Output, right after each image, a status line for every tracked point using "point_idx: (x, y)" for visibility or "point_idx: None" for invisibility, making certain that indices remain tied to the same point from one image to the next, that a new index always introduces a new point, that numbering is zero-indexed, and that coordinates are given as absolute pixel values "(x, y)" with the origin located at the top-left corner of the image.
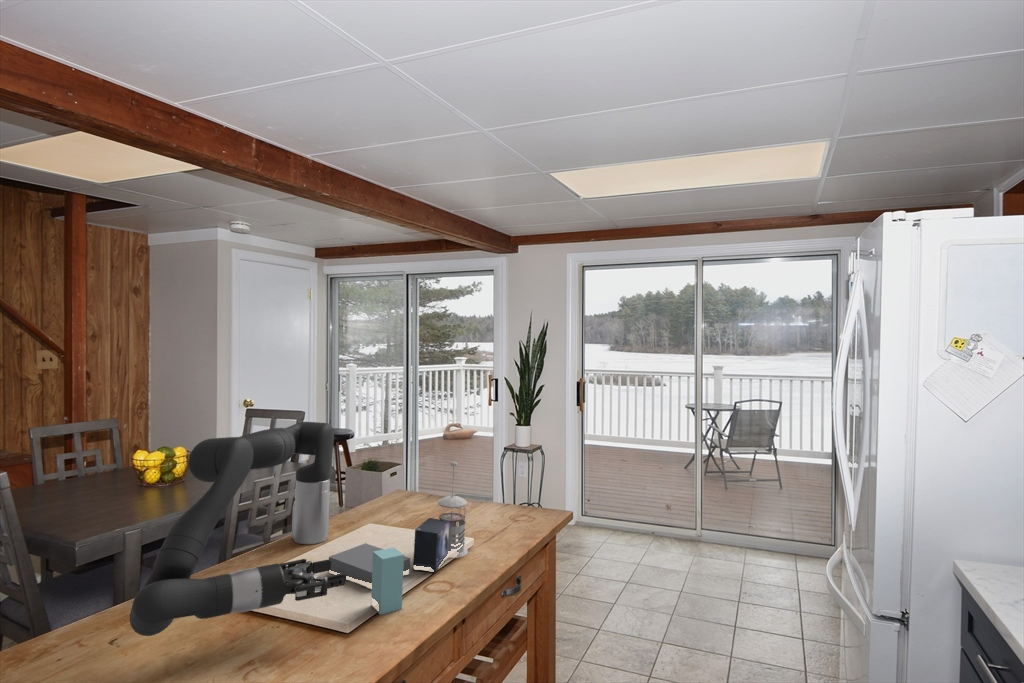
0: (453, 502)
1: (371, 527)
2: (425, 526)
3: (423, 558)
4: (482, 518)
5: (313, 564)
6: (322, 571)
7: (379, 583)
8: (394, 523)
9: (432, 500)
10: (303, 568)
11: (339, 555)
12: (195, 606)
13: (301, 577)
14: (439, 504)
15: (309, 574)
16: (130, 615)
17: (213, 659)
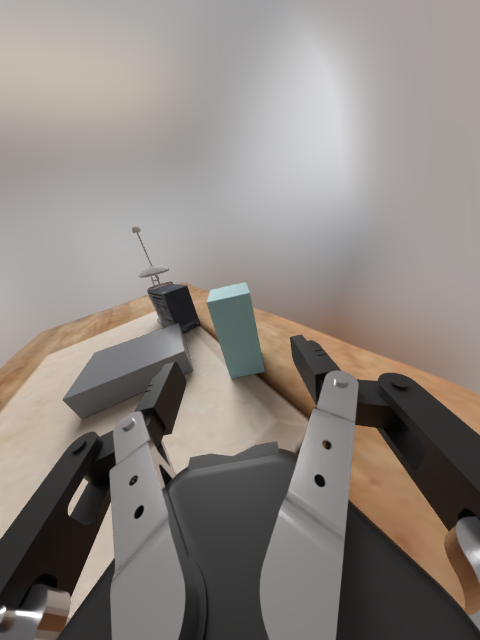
0: (160, 267)
1: (57, 355)
2: (164, 290)
3: (185, 318)
4: (147, 302)
5: (152, 411)
6: (179, 401)
7: (249, 336)
8: (79, 339)
9: (86, 318)
10: (157, 467)
11: (81, 383)
12: None
13: (347, 528)
14: (147, 275)
15: (319, 443)
16: None
17: None
